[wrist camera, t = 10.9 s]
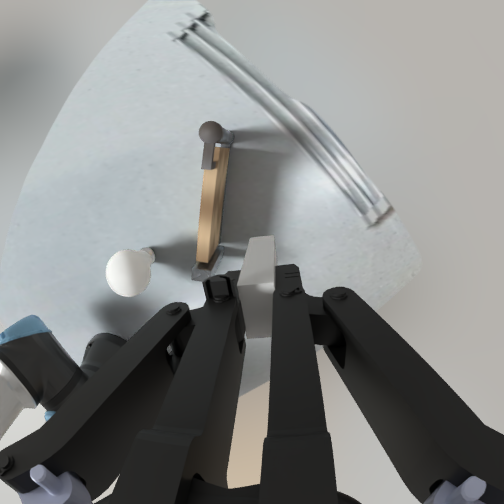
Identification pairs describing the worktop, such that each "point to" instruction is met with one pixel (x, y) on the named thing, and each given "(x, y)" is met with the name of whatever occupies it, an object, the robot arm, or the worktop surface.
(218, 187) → the gate
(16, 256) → the worktop surface
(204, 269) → the gate frame
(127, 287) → the light bulb
